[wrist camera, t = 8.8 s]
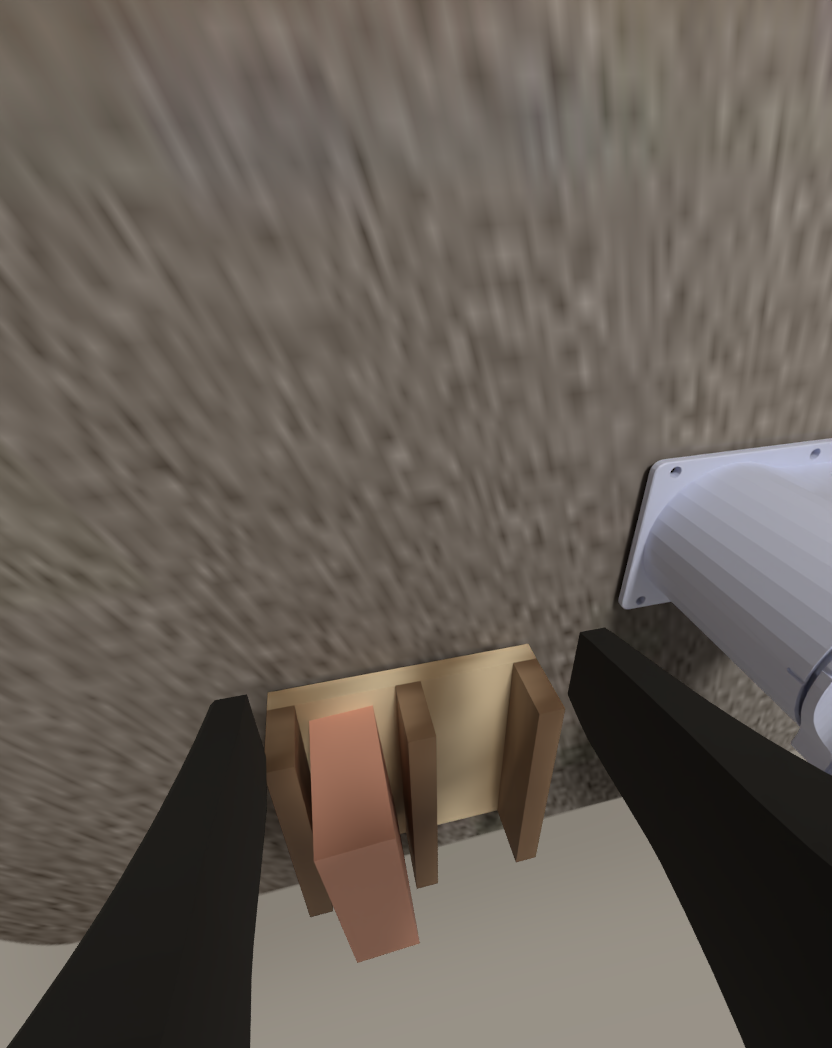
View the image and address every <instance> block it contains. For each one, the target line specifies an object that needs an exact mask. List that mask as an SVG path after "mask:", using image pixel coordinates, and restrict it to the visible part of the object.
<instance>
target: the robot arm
mask: <svg viewBox="0 0 832 1048" xmlns="http://www.w3.org/2000/svg"><path fill="white" fill-rule="evenodd" d="M673 468H675V469H674V471H673V472H672V473H671V471H672V469H673ZM618 602H619V604H620V605H621V606H622V607H623V608H624V609H633V608H638V607H644V606H649V605H655V604H660V603H666V602H672V603H673V604H674V605H675V606H676V607H677V608H679V609H680V610H681V611H682V612H683V613H684V614H685V615H686V616H687V617H688V618H689V619H690V620H691V621H692V622H693V623H694V624H695V625H696V626H697V627H698V628H699V629H700V630H701V631H702V632H703V633H704V634H705V635H706V636H707V637H708V638H709V639H710V640H711V641H712V642H713V643H714V644H715V645H717V646H718V647H719V648H720V649H721V650H722V651H723V652H724V653H725V654H726V655H727V656H728V657H729V658H730V659H731V660H732V661H733V662H734V663H735V664H736V665H737V666H738V667H739V668H740V669H741V670H742V671H743V672H744V673H745V674H746V675H747V676H748V677H749V678H750V679H751V680H752V681H753V682H755V683H756V684H757V685H758V686H759V687H760V688H761V689H762V690H763V691H764V692H765V693H766V694H767V695H768V696H769V697H770V698H771V699H772V700H773V701H774V702H775V703H776V704H777V705H778V706H779V707H780V708H781V709H782V710H783V711H784V712H785V713H786V714H787V715H788V716H789V717H790V718H791V719H793V720H794V721H795V722H796V723H797V724H798V725H799V726H800V728H799V731H798V732H797V734H796V736H795V737H794V738H793V740H792V741H791V745H792V746H793V747H794V748H795V749H796V750H797V751H798V752H799V753H800V754H801V755H802V756H803V757H804V758H805V759H806V761H807V762H806V761H805V760H803V759H801V758H799V757H798V756H796V755H794V754H792V753H791V752H789V751H787V750H785V749H784V748H782V747H780V746H779V745H777V744H775V743H773V742H772V741H770V740H768V739H767V738H765V737H763V736H762V735H760V734H759V733H757V732H755V731H754V730H752V729H751V728H749V727H748V726H746V725H744V724H743V723H741V722H740V721H738V720H737V719H735V718H733V717H732V716H730V715H729V714H727V713H726V712H724V711H723V710H721V709H720V708H718V707H717V706H715V705H714V704H712V703H711V702H709V701H708V700H706V699H705V698H703V697H702V696H700V695H699V694H697V693H696V692H694V691H693V690H692V689H690V688H689V687H687V686H686V685H684V684H683V683H681V682H680V681H679V680H677V679H676V678H674V677H673V676H672V675H670V674H669V673H667V672H666V671H665V670H663V669H662V668H660V667H659V666H658V665H656V664H655V663H654V662H652V661H651V660H649V659H648V658H647V657H645V656H644V655H642V654H641V653H640V652H638V651H637V650H636V649H634V648H633V647H631V646H630V645H629V644H627V643H626V642H625V641H623V640H622V639H620V638H619V637H618V636H616V635H615V634H613V633H612V632H611V631H609V630H608V629H606V628H600V629H595V630H589V631H584V632H580V635H579V640H578V645H577V650H576V655H575V660H574V665H573V670H572V675H571V680H570V685H569V690H568V696H569V698H570V701H571V703H572V705H573V708H574V710H575V712H576V715H577V717H578V719H579V721H580V723H581V725H582V728H583V730H584V732H585V734H586V736H587V738H588V740H589V742H590V743H591V745H592V747H593V749H594V750H595V752H596V754H597V755H598V757H599V759H600V760H601V762H602V764H603V766H604V767H605V769H606V771H607V772H608V774H609V776H610V777H611V779H612V781H613V782H614V784H615V786H616V787H617V789H618V791H619V792H620V794H621V796H622V797H623V799H624V800H625V802H626V804H627V805H628V807H629V809H630V810H631V812H632V814H633V815H634V817H635V819H636V820H637V822H638V824H639V825H640V827H641V829H642V830H643V832H644V834H645V835H646V837H647V839H648V841H649V842H650V844H651V846H652V848H653V850H654V851H655V853H656V855H657V857H658V859H659V860H660V862H661V864H662V866H663V868H664V870H665V873H666V875H667V877H668V879H669V880H670V883H671V884H672V887H673V889H674V891H675V893H676V895H677V897H678V898H679V901H680V903H681V905H682V907H683V909H684V911H685V913H686V915H687V917H688V920H689V922H690V924H691V926H692V928H693V930H694V933H695V935H696V937H697V939H698V941H699V943H700V945H701V947H702V950H703V952H704V954H705V956H706V958H707V960H708V963H709V965H710V967H711V969H712V971H713V973H714V976H715V978H716V980H717V983H718V985H719V987H720V990H721V992H722V994H723V996H724V998H725V1001H726V1003H727V1006H728V1008H729V1010H730V1012H731V1015H732V1017H733V1019H734V1022H735V1024H736V1026H737V1028H738V1031H739V1033H740V1035H741V1038H742V1040H743V1043H744V1045H745V1047H746V1048H832V438H830V439H822V440H814V441H806V442H798V443H790V444H782V445H774V446H766V447H758V448H750V449H742V450H734V451H726V452H718V453H710V454H702V455H694V456H686V457H678V458H671V459H663V460H660V461H658V462H656V463H655V464H654V465H653V466H652V467H651V469H650V472H649V476H648V480H647V484H646V488H645V492H644V497H643V501H642V505H641V509H640V513H639V517H638V521H637V525H636V529H635V534H634V538H633V542H632V546H631V550H630V554H629V558H628V562H627V566H626V571H625V575H624V579H623V583H622V587H621V591H620V595H619V600H618ZM266 811H267V780H266V755H265V752H264V748H263V745H262V742H261V739H260V735H259V732H258V729H257V726H256V723H255V719H254V716H253V713H252V710H251V707H250V703H249V700H248V697H247V695H241V696H236V697H231V698H225V699H220V700H215V701H214V702H213V703H212V704H211V705H210V707H209V710H208V712H207V714H206V717H205V719H204V721H203V723H202V726H201V728H200V730H199V732H198V734H197V737H196V739H195V741H194V743H193V745H192V747H191V749H190V751H189V754H188V756H187V758H186V760H185V762H184V764H183V766H182V768H181V770H180V772H179V774H178V776H177V778H176V780H175V782H174V783H173V785H172V787H171V789H170V791H169V793H168V795H167V797H166V799H165V801H164V802H163V804H162V806H161V808H160V810H159V812H158V814H157V816H156V818H155V819H154V821H153V823H152V825H151V827H150V828H149V830H148V832H147V834H146V835H145V837H144V839H143V841H142V842H141V844H140V846H139V847H138V849H137V851H136V853H135V854H134V856H133V858H132V859H131V861H130V863H129V865H128V866H127V868H126V870H125V871H124V873H123V875H122V877H121V878H120V880H119V882H118V883H117V885H116V887H115V888H114V890H113V891H112V893H111V895H110V896H109V898H108V900H107V901H106V903H105V904H104V906H103V908H102V909H101V911H100V912H99V914H98V915H97V917H96V919H95V920H94V922H93V923H92V925H91V926H90V928H89V929H88V931H87V932H86V934H85V935H84V937H83V938H82V940H81V942H80V943H79V945H78V946H77V948H76V949H75V951H74V952H73V954H72V955H71V957H70V958H69V960H68V961H67V963H66V964H65V966H64V967H63V969H62V970H61V971H60V973H59V974H58V976H57V977H56V979H55V980H54V982H53V983H52V984H51V986H50V987H49V989H48V990H47V991H46V993H45V994H44V996H43V997H42V999H41V1000H40V1002H39V1003H38V1004H37V1006H36V1007H35V1009H34V1010H33V1011H32V1013H31V1014H30V1016H29V1017H28V1019H27V1020H26V1022H25V1023H24V1024H23V1026H22V1027H21V1029H20V1030H19V1031H18V1033H17V1034H16V1035H15V1037H14V1038H13V1040H12V1041H11V1042H10V1044H9V1045H8V1046H7V1048H250V1025H251V1024H250V1023H251V977H252V976H251V975H252V959H253V945H254V934H255V923H256V914H257V903H258V894H259V884H260V874H261V864H262V854H263V843H264V833H265V822H266Z"/></svg>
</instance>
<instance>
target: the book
mask: <svg viewBox="0 0 832 1048" xmlns="http://www.w3.org/2000/svg"><path fill="white" fill-rule="evenodd" d="M309 734H310V763H311V792H312V822H313V851H314V863H315V865H316V868H317V870H318V872H319V874H320V877H321V879H322V881H323V884H324V886H325V888H326V891H327V893H328V895H329V898H330V900H331V902H332V905H333V907H334V909H335V912H336V913H337V916H338V918H339V921H340V923H341V926H342V928H343V930H344V933H345V935H346V937H347V940H348V942H349V944H350V947H351V949H352V951H353V953H354V956H355V958H356V960H357V963H358V962H362V961H364V960H368V959H371V958H374V957H378V956H381V955H384V954H387V953H390V952H394V951H396V950H400V949H403V948H406V947H409V946H413V945H416V944H419V943H420V942H419V937H418V931H417V925H416V920H415V914H414V909H413V903H412V898H411V892H410V886H409V881H408V875H407V870H406V864H405V859H404V853H403V847H402V842H401V836H400V831H399V825H398V819H397V814H396V810H395V805H394V800H393V796H392V791H391V787H390V782H389V777H388V773H387V768H386V764H385V759H384V754H383V750H382V745H381V741H380V736H379V732H378V727H377V722H376V718H375V713H374V709H373V705H372V706H368V707H364V708H360V709H356V710H352V711H348V712H344V713H339V714H335V715H331V716H327V717H323V718H319V719H315V720H311V721H309Z"/></svg>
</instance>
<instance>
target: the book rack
mask: <svg viewBox="0 0 832 1048" xmlns="http://www.w3.org/2000/svg"><path fill="white" fill-rule="evenodd" d="M372 705H373V709H374V713H375V718H376V722H377V727H378V732H379V736H380V741H381V745H382V750H383V754H384V759H385V764H386V768H387V773H388V777H389V782H390V787H391V791H392V796H393V800H394V805H395V810H396V814H397V819H398V825H399V831H400V834H402V833H406V834H407V840H408V845H409V850H410V855H411V861H412V866H413V871H414V877H415V882H416V887H417V889H418V888H422V887H425V886H429V885H433V884H436V883H438V852H437V851H438V842H437V825H439V824H443V823H447V822H451V821H455V820H459V819H463V818H467V817H471V816H475V815H479V814H483V813H487V812H492V811H496V810H498V813H499V816H500V819H501V822H502V825H503V827H504V830H505V833H506V836H507V839H508V841H509V844H510V847H511V850H512V853H513V855H514V858H515V861H516V862H519V861H523V860H527V859H530V858H534V857H536V852H537V847H538V842H539V837H540V832H541V827H542V822H543V817H544V812H545V807H546V802H547V797H548V792H549V787H550V782H551V777H552V772H553V767H554V762H555V757H556V752H557V748H558V743H559V738H560V733H561V728H562V723H563V718H564V713H565V708H564V706H563V704H562V702H561V701H560V699H559V697H558V695H557V694H556V692H555V690H554V688H553V687H552V685H551V683H550V681H549V680H548V678H547V676H546V674H545V673H544V671H543V669H542V667H541V666H540V664H539V662H538V660H537V659H536V657H535V655H534V653H533V652H532V650H531V648H530V646H529V645H528V644H525V645H519V646H514V647H509V648H503V649H498V650H493V651H487V652H482V653H476V654H471V655H466V656H460V657H455V658H450V659H444V660H439V661H434V662H428V663H423V664H418V665H412V666H407V667H402V668H396V669H391V670H386V671H380V672H375V673H370V674H364V675H359V676H354V677H348V678H343V679H338V680H332V681H327V682H322V683H316V684H311V685H306V686H300V687H295V688H290V689H284V690H279V691H274V692H268V698H267V716H266V735H265V755H266V780H267V786H268V789H269V792H270V795H271V798H272V801H273V804H274V807H275V811H276V814H277V817H278V820H279V823H280V826H281V829H282V832H283V835H284V838H285V841H286V844H287V847H288V850H289V854H290V857H291V860H292V863H293V866H294V869H295V872H296V875H297V878H298V881H299V884H300V887H301V890H302V893H303V896H304V899H305V902H306V905H307V909H308V912H309V915H310V917H313V916H317V915H320V914H324V913H328V912H332V911H333V905H332V902H331V900H330V898H329V895H328V893H327V891H326V888H325V886H324V884H323V881H322V879H321V877H320V874H319V872H318V870H317V868H316V865H315V863H314V851H313V822H312V792H311V763H310V734H309V721H311V720H315V719H319V718H323V717H327V716H331V715H335V714H339V713H344V712H348V711H352V710H356V709H360V708H364V707H368V706H372Z"/></svg>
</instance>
